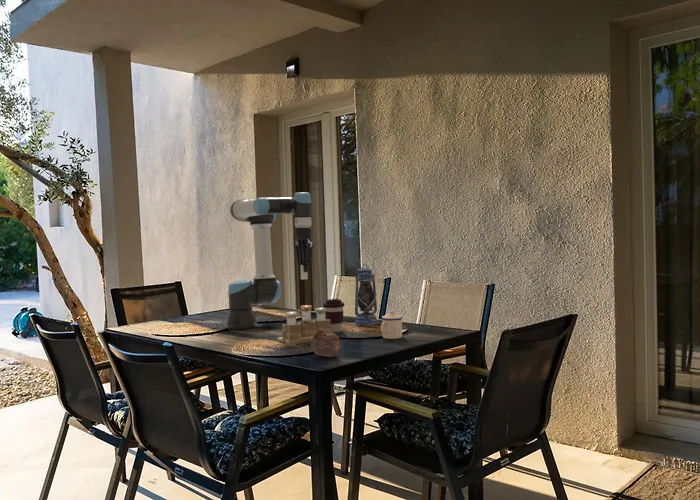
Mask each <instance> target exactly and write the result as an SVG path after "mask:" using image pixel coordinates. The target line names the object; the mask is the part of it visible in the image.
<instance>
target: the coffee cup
mask: <svg viewBox="0 0 700 500" xmlns="http://www.w3.org/2000/svg"><path fill="white" fill-rule="evenodd" d="M322 305H323V307H322V308H326V311H325V315H326V319H328V320H331V333H334V334H336V333H341V332H342V331H343V323H344V307H345V302H343V301H342V300H341V299H340V298H329V299H326V301H325V302H323V304H322ZM335 332H336V333H335Z"/></svg>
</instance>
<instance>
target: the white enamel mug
mask: <svg viewBox="0 0 700 500" xmlns="http://www.w3.org/2000/svg"><path fill="white" fill-rule="evenodd" d="M381 321H382V322H381V324H380V330H381V333H382V338H383V339H389V340H394V339H395V340H396V339H397V340H398V339H401V338H402V337H403V317H402V315H399V314H398V313H395V311H394V310H389V313H386V314H385V315H382V316H381Z"/></svg>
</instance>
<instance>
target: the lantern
mask: <svg viewBox="0 0 700 500" xmlns="http://www.w3.org/2000/svg"><path fill="white" fill-rule="evenodd" d="M365 266H366V267H365ZM364 267H365V268H364ZM357 271H358V273H357V274H356V276H355V290H354V292H355V293H354V295H355V299H354V315H355V322H353V323H354V325H355V326H363V325H367V326H375V325H378V324H380V323H379V320H378V319H377V315H376V314H377V312H378V303H377V292H376V291H377V290H376V275H375V274H374V273H373V272H372V271H373V268H371V267H368V264H367V263H364V264H363V265H362V267H361V268H358V269H357ZM359 311H360V312H361V313H359Z"/></svg>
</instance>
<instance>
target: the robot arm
mask: <svg viewBox="0 0 700 500" xmlns="http://www.w3.org/2000/svg"><path fill="white" fill-rule="evenodd" d="M311 197H312V196H311V193H310V192H307V191H306V192H294V196H293V197H264V196H263V197H256V198H254V199H253V198H252V199H251V198H243V199H242V198H241V199H237V200H235V201H234V202H232V204H231V206H230V207H229V213H230V215H231V216H232V218H233V219H234V220H236V221H239V222H243V223H249V226H250V227H251V228H252V231H253V245H254V261H255V275H254V277H253V281H252V280H251V279H241V280H236V281H233V282H231V283H229V284H228V289H227V290H228V291H227V293H228V310H229V311H228V314H227V319H226V323H225V326H226V329H228V330H244V329H253V328H255V327H257V320H256V317H255V314H254V311H253V306H257V305H266V304H269V305H270V304H273V303H277V302H278V301H279V299H280V298H281V293H282V286H281V282H280V281H279V280H277V277H276V275H275V274H273V273H274V271H273V257H272V242H271V239H272V238H271V227H272V226H273V222H275V221H276V219H277V217H276V216H277V215H294V227H295V228H294V235H295V236H296V241H294V242H293V247H294V251H295V257H296V263H297V264H299V265H300V266H299V267H300V268H299V270H300V280H308V277H309V275H308V274H309V273H308V271H309V270H308V267H309V264H311V263H312V255H313V248H314V245H315V244H314V242H312V241H311V238H310V237H311V236H312V235H313V234H312V233H313V231H312V198H311Z"/></svg>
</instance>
